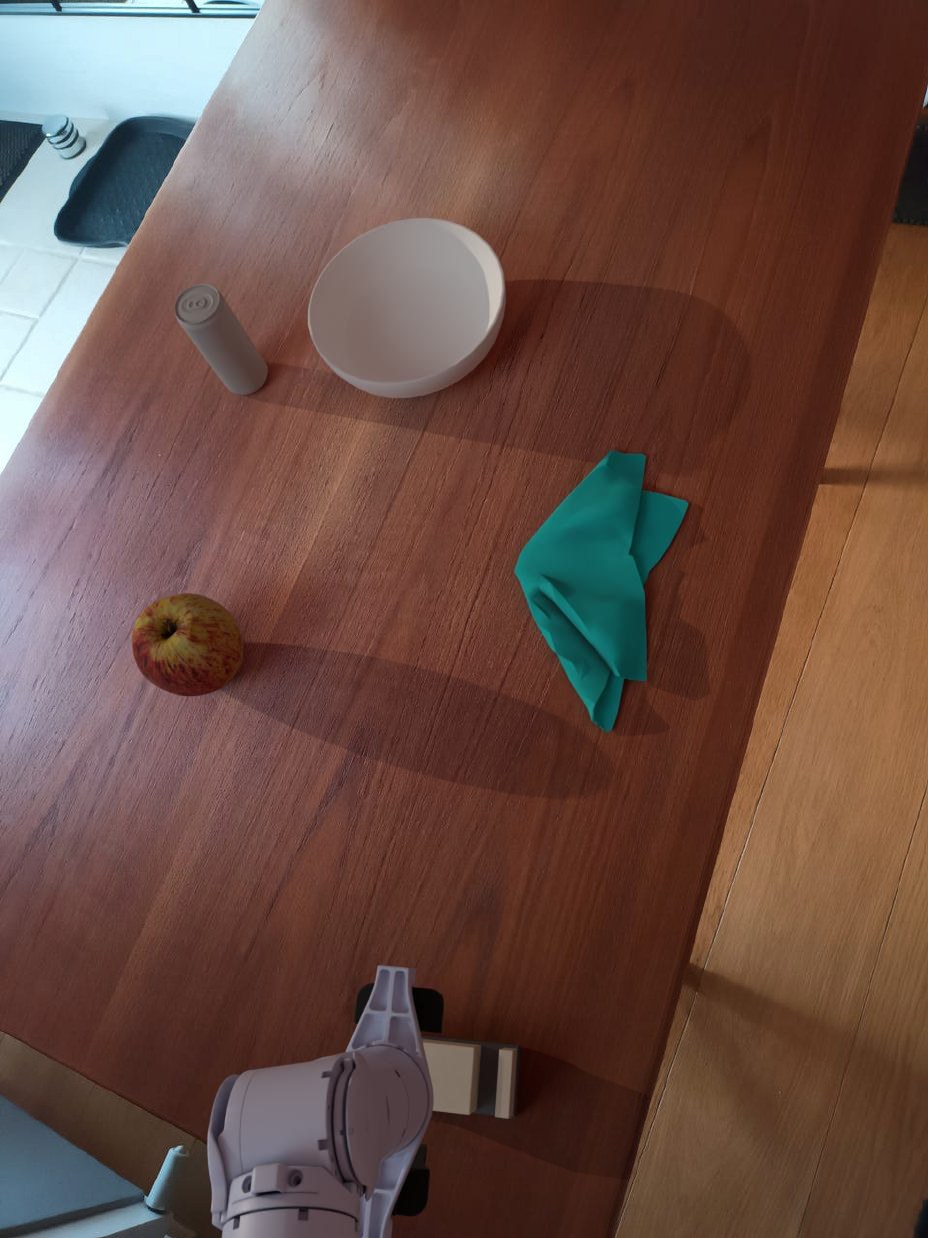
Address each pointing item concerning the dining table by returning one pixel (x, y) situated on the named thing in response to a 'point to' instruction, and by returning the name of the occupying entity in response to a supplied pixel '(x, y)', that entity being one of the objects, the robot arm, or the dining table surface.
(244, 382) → the beverage can
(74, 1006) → the dining table surface
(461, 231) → the bowl
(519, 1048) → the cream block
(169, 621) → the apple
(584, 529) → the cloth
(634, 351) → the dining table surface
